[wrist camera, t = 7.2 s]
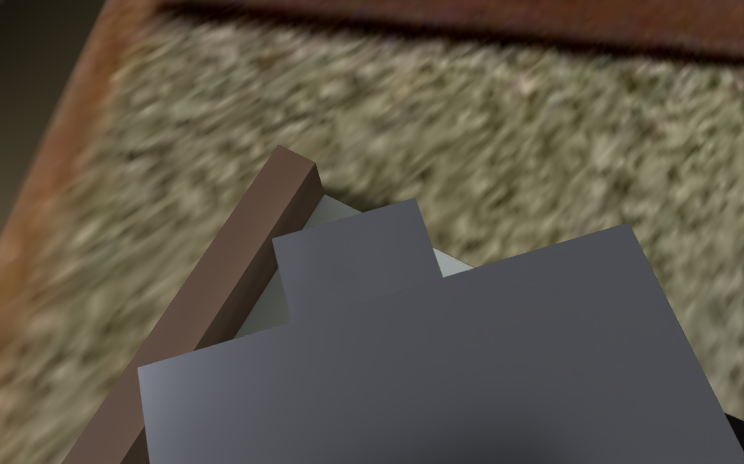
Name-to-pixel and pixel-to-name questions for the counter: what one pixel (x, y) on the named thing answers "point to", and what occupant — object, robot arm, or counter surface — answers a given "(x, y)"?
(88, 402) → the counter surface
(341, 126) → the counter surface
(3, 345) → the counter surface
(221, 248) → the corner walls
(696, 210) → the counter surface
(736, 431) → the robot arm
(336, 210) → the mat
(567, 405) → the bracket
